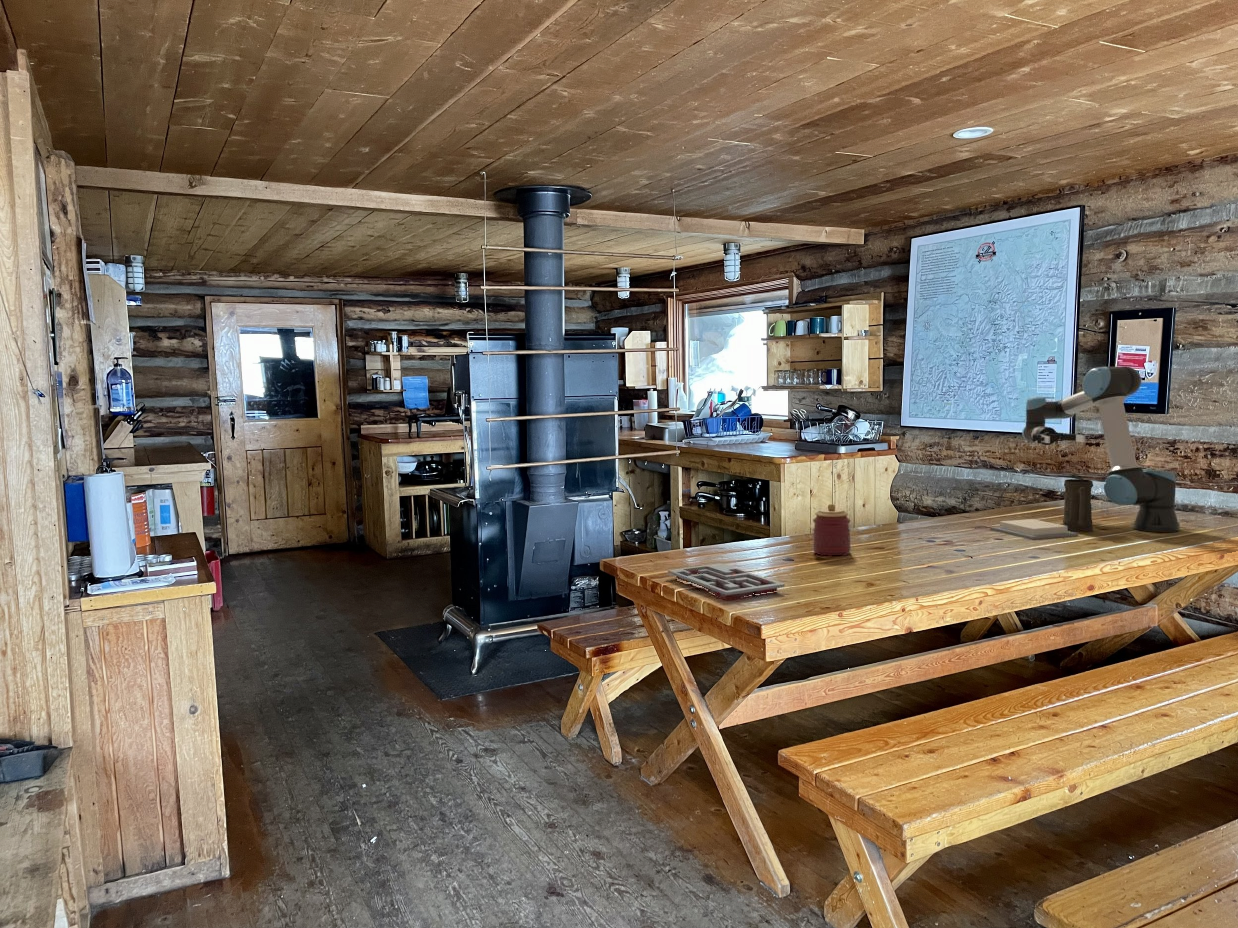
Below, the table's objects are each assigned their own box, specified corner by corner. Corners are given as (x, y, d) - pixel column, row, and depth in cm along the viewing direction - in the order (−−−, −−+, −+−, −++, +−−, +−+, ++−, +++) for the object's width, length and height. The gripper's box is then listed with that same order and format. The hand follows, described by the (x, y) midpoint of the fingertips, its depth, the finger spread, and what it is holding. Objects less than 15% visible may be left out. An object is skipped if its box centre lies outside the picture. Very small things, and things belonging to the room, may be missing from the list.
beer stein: (1057, 527, 351) (1059, 477, 348) (1086, 527, 350) (1088, 477, 346) (1071, 536, 336) (1073, 485, 333) (1101, 536, 335) (1104, 484, 331)
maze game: (784, 594, 256) (784, 583, 256) (726, 603, 248) (726, 592, 248) (721, 572, 288) (721, 563, 288) (667, 579, 280) (667, 570, 279)
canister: (821, 548, 322) (821, 500, 320) (856, 551, 315) (856, 502, 313) (807, 554, 312) (806, 505, 310) (842, 558, 304) (842, 507, 302)
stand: (1033, 526, 356) (1033, 517, 355) (1077, 535, 332) (1078, 526, 332) (990, 529, 351) (990, 520, 350) (1032, 539, 327) (1032, 530, 327)
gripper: (1074, 443, 371) (1098, 448, 350) (1013, 445, 373) (1034, 449, 352) (1075, 426, 371) (1099, 429, 350) (1014, 427, 372) (1034, 430, 351)
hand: (1066, 439), depth 351 cm, fingers open, 13 cm apart
